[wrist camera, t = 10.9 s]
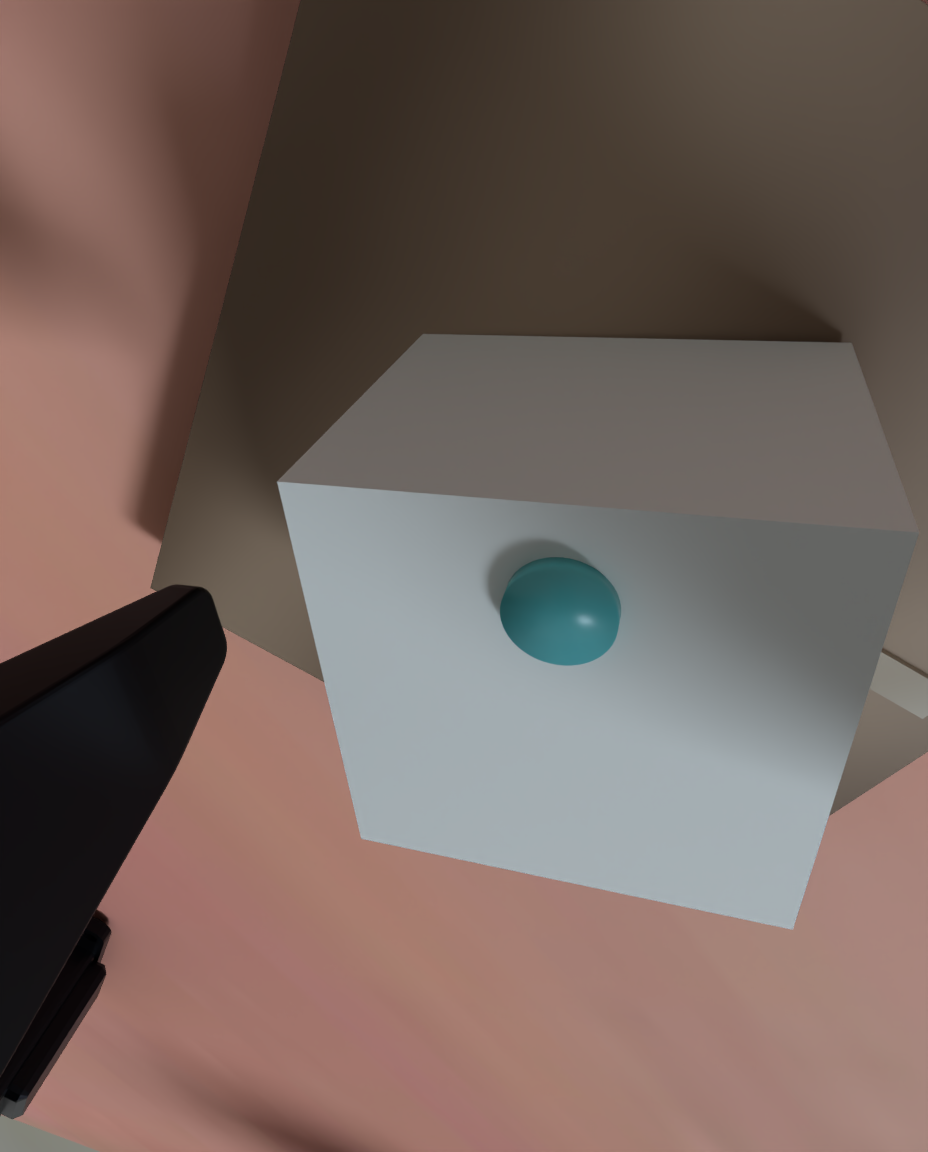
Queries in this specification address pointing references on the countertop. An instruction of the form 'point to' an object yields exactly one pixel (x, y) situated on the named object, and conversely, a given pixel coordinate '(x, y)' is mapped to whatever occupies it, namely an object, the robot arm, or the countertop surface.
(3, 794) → the robot arm
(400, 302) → the post stand
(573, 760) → the white cube
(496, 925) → the countertop surface
